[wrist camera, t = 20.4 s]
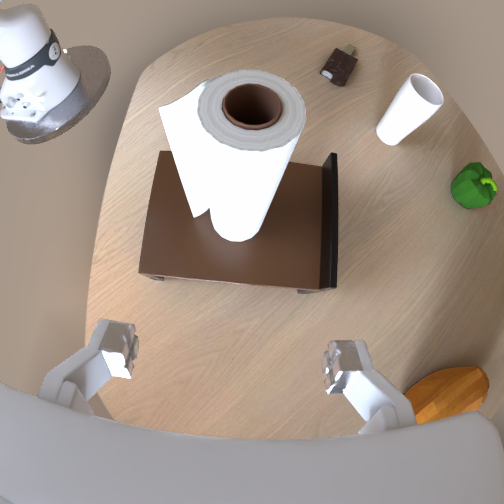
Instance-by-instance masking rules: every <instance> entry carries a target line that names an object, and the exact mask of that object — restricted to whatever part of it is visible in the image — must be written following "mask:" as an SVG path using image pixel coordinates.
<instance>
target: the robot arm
mask: <svg viewBox="0 0 504 504" xmlns="http://www.w3.org/2000/svg"><path fill="white" fill-rule="evenodd" d="M2 1H3V0H0V3H1V2H2ZM66 53H67V51H66V49H65V50H63V49H62V48H61V46H60V45H59V41H58V39H57V37H56V35H55V33H54V32H53V30H52V29H50V28H49V27H48V25H47V23H46V21H45V19H44V17H43V15H42V13H41V10H40V9H39V8H38V7H37V6H36V5H34V4H23V5H19V6H16V7H13V8H10V9H5V10H1V9H0V60H1V61H2V62H3V65H2V66H1V68H0V70H1V69H2V70H1V73H2V72H3V70H4V69H5V73H6V78H5V80H4V82H3V85H2V87H1V88H0V103H1V102H2V103H3V105H2V108H1V117H2V118H3V119H14V120H25V121H35V122H36V121H39V120H40V119H41V118H42V117H43V116H44V115H45V114H46V113H47V112H48V111H49V110H51V109H52V108H54V107H55V106H57V105H58V104H60V103H61V102H62V101H63V100H64V99H65V98H67V97H68V96H69V94H70V93H71V92H72V91H73V90H74V88H75V87H76V85H77V83H78V81H79V78H80V69H79V67H78V66H77V65H75V64H74V63H73V62H72V59H71V57H70V56H67V54H66ZM2 67H3V68H2ZM135 331H136V328H135V325H134V324H129V323H123V322H118V321H113V320H107V319H102V318H101V319H100V320H99V321H98V323H97V326H96V328H95V330H94V332H93V335H92V337H91V339H90V342H89V344H88V346H87V347H83V348H82V349H80V350H79V351H77V352H76V353H75V354H73V355H72V356H70V357H69V358H68V359H67V360H65V361H64V362H62V363H61V364H59V365H58V366H57V367H55V368H54V369H52V370H51V371H50V372H49V373H47V374H46V376H45V379H44V381H43V383H42V386H41V388H40V391H39V393H38V395H37V397H35V396H33V395H30V394H28V393H25V392H23V391H20V390H18V389H15V388H13V387H11V386H9V385H6V384H4V383H2V382H0V504H504V450H503V446H502V443H501V439H500V436H499V433H498V430H497V428H496V426H495V425H494V424H493V423H492V422H491V421H490V420H489V419H487V418H486V417H485V416H484V415H483V414H481V413H480V412H479V411H476V410H472V411H468V412H465V413H462V414H458V415H455V416H451V417H447V418H444V419H440V420H436V421H432V422H427V423H423V424H417V420H416V417H415V414H414V411H413V407H412V404H411V401H410V400H409V399H407V398H406V397H405V396H404V395H403V394H402V393H401V392H400V391H399V390H398V389H397V388H396V387H395V386H394V385H392V384H391V383H390V382H389V381H388V380H387V379H386V378H385V377H384V376H383V375H382V374H381V373H380V372H379V371H377V370H374V368H373V365H372V361H371V358H370V355H369V352H368V349H367V346H366V343H365V341H352V340H335V341H330V342H329V345H328V349H329V350H328V351H326V352H325V353H324V355H323V359H322V371H323V373H324V374H325V375H326V376H327V377H326V379H325V381H324V382H325V388H326V393H327V394H343V393H345V394H344V395H345V396H346V397H347V398H348V400H349V401H350V402H351V403H352V405H353V406H354V407H355V408H356V410H357V411H358V412H359V413H360V415H361V416H362V417H363V418H364V420H365V421H366V422H367V423H366V424H365V425H364V426H363V427H362V428H361V429H360V430H359V431H358V434H359V435H350V436H340V437H328V438H312V439H239V438H223V437H211V436H201V435H192V434H184V433H177V432H170V431H163V430H157V429H152V428H146V427H141V426H136V425H131V424H126V423H122V422H118V421H113V420H109V419H105V418H101V417H97V416H94V411H93V410H92V408H91V407H90V405H89V404H88V402H87V401H88V400H89V398H91V397H92V396H93V395H94V394H95V393H96V392H97V391H98V390H99V389H100V388H101V387H102V386H103V385H104V384H105V383H106V382H107V381H108V380H109V379H110V378H111V377H112V376H118V377H124V378H131V375H132V371H133V368H134V364H133V360H134V359H135V358H137V354H138V348H139V341H138V337H137V336H136V335H135Z"/></svg>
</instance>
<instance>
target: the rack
mask: <svg viewBox="0 0 504 504" xmlns="http://www.w3.org/2000/svg"><path fill="white" fill-rule="evenodd" d="M337 263H338V166H337V153H330V155H329V156H328V158H327V159H326V161H325V162H324V164H323V166H322V167H321V166H314V165H308V164H301V163H294V162H288V164H287V167H286V169H285V171H284V174H283V176H282V178H281V181H280V183H279V185H278V188H277V190H276V192H275V195H274V197H273V199H272V202H271V204H270V206H269V209H268V211H267V213H266V216H265V218H264V220H263V223H262V225H261V227H260V229H259V231H258V232H257V233H256V234H255V235H254V236H253V237H252V238H250V239H247V240H245V241H242V242H240V241H230V240H228V239H225V238H223V237H221V235H220V234H219V233H218V232H217V231H216V230H215V228H214V226H213V223H212V220H211V214H210V207H209V208H208V210H207V211H205V212H204V213H202V214H201V215H199V216H197V217H193V214H192V211H191V208H190V205H189V202H188V199H187V196H186V193H185V190H184V187H183V184H182V181H181V178H180V175H179V172H178V169H177V166H176V163H175V160H174V156H173V153H172V151H160V153H159V157H158V161H157V166H156V171H155V175H154V180H153V185H152V190H151V195H150V200H149V206H148V211H147V217H146V223H145V229H144V235H143V242H142V249H141V256H140V263H139V271H138V273H139V274H141V275H144V276H146V277H149V278H151V279H154V280H161V281H164V277H170V278H179V279H189V280H199V281H209V282H219V283H229V284H240V285H252V286H263V287H275V288H288V289H298V293H302V294H309V293H314V292H319V291H324V290H329V289H334V288H337Z"/></svg>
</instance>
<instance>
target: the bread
mask: <svg viewBox="0 0 504 504" xmlns="http://www.w3.org/2000/svg"><path fill="white" fill-rule="evenodd" d="M488 389H489V380H488V377H487V375H486V373H485V372H484V371H483V370H482V369H481V368H478V367H474V366H467V367H452V368H447V369H441V370H438V371H436V372H434V373H432V374H430V375H428V376H426V377H425V378H423V379H422V380H420V381H419V382H418V383H416V384H415V385H414V386H413V387H411V388H410V389H409V390H408V391H407V393H406V394H405V395H404V396H405V397H406V398H407V399H409V400H410V401H411V404H412V407H413V411H414V414H415V417H416V420H417V424H423V423H427V422H432V421H436V420H440V419H444V418H447V417H451V416H455V415H458V414H462V413H465V412H468V411H472V410H476V411H477V410H478V409H479V407H480V406H481V404H482V403H483V401H484V400H485V398H486V396H487V392H488Z"/></svg>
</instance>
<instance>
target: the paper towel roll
mask: <svg viewBox="0 0 504 504" xmlns="http://www.w3.org/2000/svg"><path fill="white" fill-rule="evenodd" d="M158 108H159V111H160V114H161V118H162V121H163V124H164V128H165V131H166V134H167V137H168V141H169V144H170V147H171V150H172V153H173V156H174V160H175V163H176V166H177V169H178V172H179V175H180V178H181V181H182V184H183V187H184V190H185V193H186V196H187V199H188V202H189V205H190V208H191V211H192V214H193V217H197V216H199V215H201V214H202V213H204V212H205V211H207V210H208V208H209V207H210V214H211V220H212V223H213V226H214V228H215V230H216V231H217V232H218V233H219V234H220V235H221V237H223V238H225V239H228V240H230V241H240V242H242V241H245V240H247V239H250V238H252V237H253V236H254V235H255V234H256V233H257V232H258V231H259V229H260V227H261V225H262V223H263V220H264V218H265V216H266V213H267V211H268V209H269V206H270V204H271V202H272V199H273V197H274V195H275V192H276V190H277V188H278V185H279V183H280V181H281V178H282V176H283V174H284V171H285V169H286V167H287V164H288V162H289V160H290V157H291V155H292V153H293V150H294V148H295V146H296V143H297V141H298V139H299V136H300V134H301V132H302V129H303V127H304V125H305V122H306V110H305V103H304V101H303V99H302V98H301V96H300V94H299V93H298V91H297V89H296V88H295V87H293V86H292V85H291V84H290V83H288V82H287V81H286V80H284V79H283V78H282V77H279V76H277V75H274V74H271V73H268V72H266V71H262V70H248V69H242V70H238V71H234V72H230V73H226V74H223V75H220V76H217V77H214V78H211V79H208V80H205V81H203V82H202V83H200V84H199V85H198V86H196V87H195V88H194V89H192V90H191V91H190V92H189V93H187V94H186V95H184V96H183V97H181V98H179V99H177V100H175V101H173V102H172V103H170V104H167V105H163V106H160V107H158Z"/></svg>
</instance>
